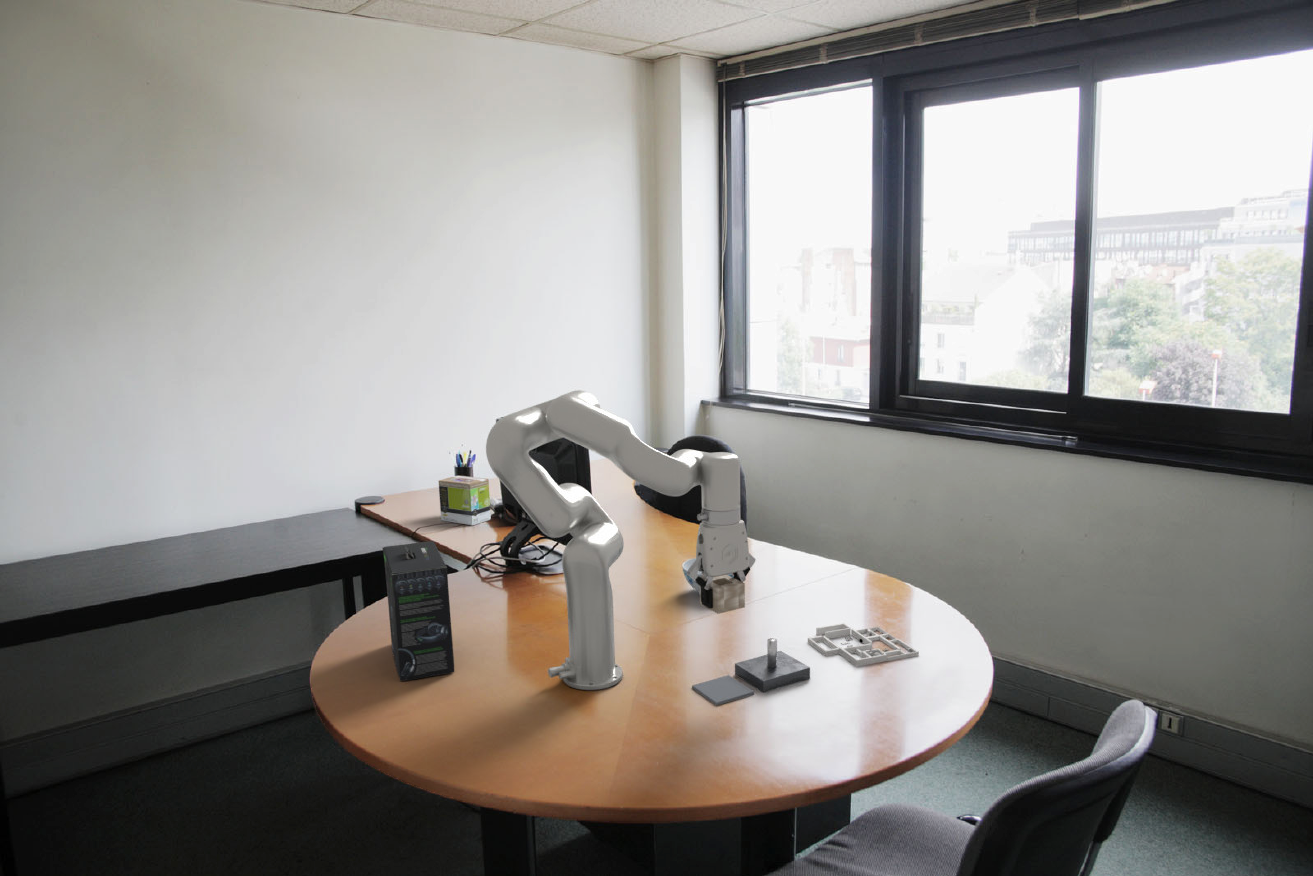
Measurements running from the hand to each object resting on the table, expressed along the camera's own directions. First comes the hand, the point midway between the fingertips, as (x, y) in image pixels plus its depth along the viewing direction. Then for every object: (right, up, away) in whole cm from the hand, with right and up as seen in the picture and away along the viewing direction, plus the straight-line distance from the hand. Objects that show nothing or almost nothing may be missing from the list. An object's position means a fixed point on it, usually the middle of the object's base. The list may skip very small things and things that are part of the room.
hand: (722, 602), depth 182 cm
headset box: (-66, -17, +23) cm, 72 cm away
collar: (0, -1, 0) cm, 1 cm away
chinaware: (+1, -9, +60) cm, 60 cm away
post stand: (+11, -17, +10) cm, 23 cm away
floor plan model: (+30, -15, +23) cm, 41 cm away
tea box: (-80, +4, +137) cm, 158 cm away
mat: (0, -19, +3) cm, 19 cm away
